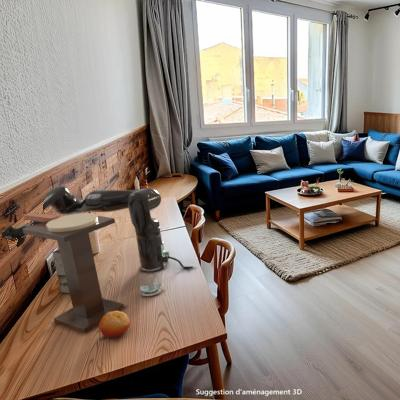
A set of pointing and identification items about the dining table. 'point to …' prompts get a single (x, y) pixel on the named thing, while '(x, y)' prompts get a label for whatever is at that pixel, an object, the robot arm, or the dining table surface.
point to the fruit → (114, 324)
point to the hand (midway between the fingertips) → (27, 224)
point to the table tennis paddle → (64, 221)
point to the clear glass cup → (150, 287)
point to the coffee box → (60, 271)
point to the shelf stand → (79, 275)
